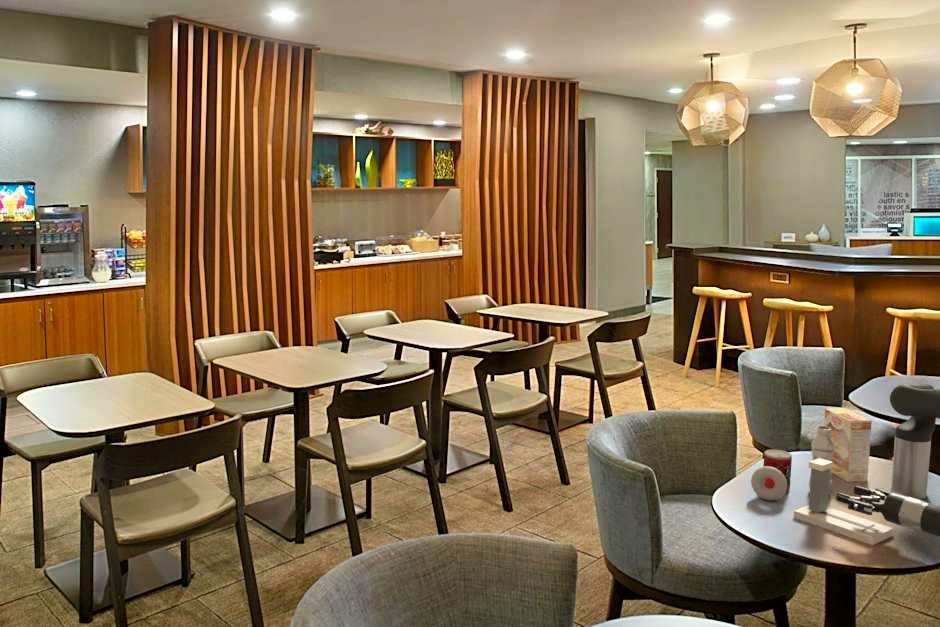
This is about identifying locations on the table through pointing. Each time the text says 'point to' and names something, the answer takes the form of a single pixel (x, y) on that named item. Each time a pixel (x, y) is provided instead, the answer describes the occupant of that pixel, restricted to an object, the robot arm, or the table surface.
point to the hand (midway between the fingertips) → (845, 492)
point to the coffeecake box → (849, 443)
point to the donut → (772, 474)
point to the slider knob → (819, 484)
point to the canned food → (778, 465)
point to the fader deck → (846, 524)
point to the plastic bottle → (823, 448)
